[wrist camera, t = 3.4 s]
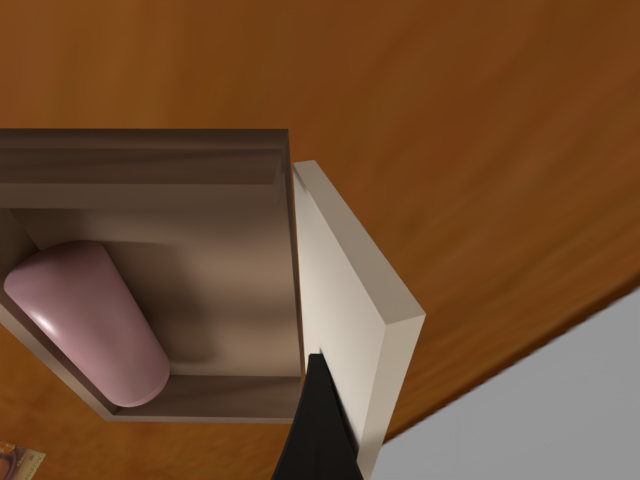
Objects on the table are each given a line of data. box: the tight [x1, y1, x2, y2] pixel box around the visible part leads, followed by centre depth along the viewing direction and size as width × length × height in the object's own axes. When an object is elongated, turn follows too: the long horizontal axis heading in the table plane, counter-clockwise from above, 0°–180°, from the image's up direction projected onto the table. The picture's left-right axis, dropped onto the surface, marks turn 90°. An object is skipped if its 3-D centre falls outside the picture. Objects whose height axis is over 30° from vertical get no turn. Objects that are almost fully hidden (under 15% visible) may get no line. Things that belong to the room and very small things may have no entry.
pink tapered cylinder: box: [4, 240, 170, 407], centre depth 15 cm, size 10×3×3 cm, turn 0°
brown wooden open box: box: [0, 128, 304, 424], centre depth 15 cm, size 16×12×4 cm
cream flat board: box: [292, 160, 426, 480], centre depth 13 cm, size 15×1×7 cm, turn 0°
